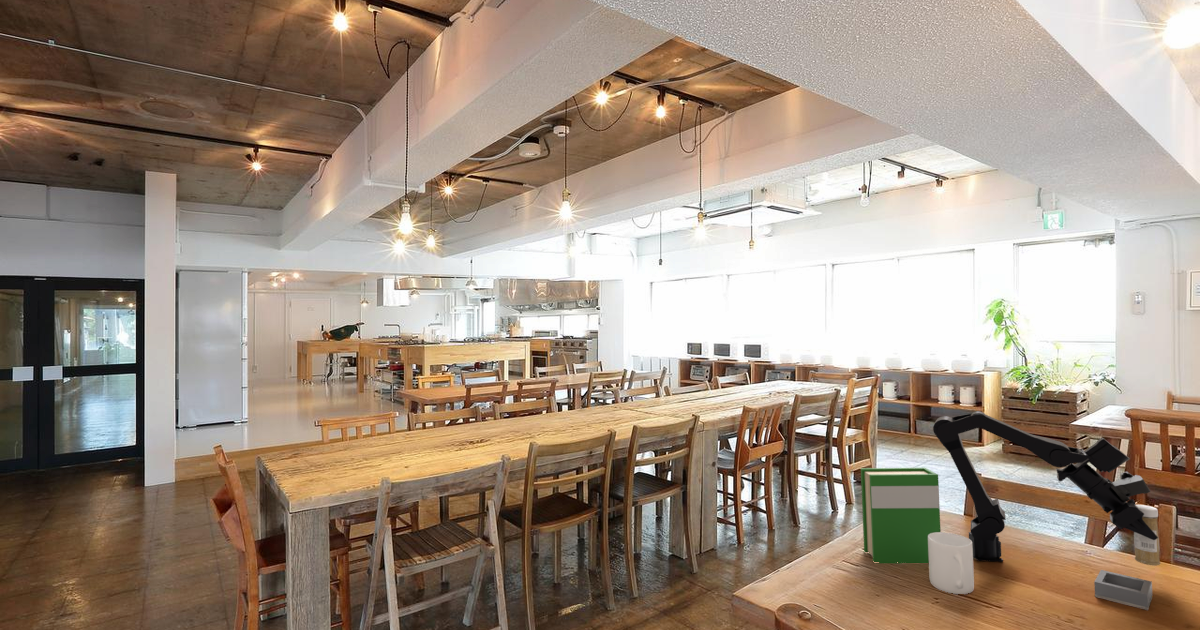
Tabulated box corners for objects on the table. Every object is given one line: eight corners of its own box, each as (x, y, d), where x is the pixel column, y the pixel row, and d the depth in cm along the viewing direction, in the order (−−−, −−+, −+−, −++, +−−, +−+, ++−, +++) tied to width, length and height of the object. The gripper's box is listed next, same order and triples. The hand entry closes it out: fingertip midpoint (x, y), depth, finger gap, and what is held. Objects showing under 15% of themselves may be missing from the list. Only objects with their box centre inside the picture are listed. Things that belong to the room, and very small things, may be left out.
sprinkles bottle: (1162, 563, 138) (1160, 507, 138) (1157, 567, 135) (1154, 510, 136) (1137, 557, 142) (1135, 502, 142) (1131, 561, 139) (1129, 506, 140)
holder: (1147, 610, 127) (1147, 594, 127) (1094, 596, 134) (1094, 581, 134) (1152, 596, 133) (1151, 581, 133) (1101, 584, 140) (1100, 569, 140)
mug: (957, 576, 146) (955, 531, 146) (991, 599, 134) (989, 549, 134) (921, 579, 146) (919, 533, 146) (952, 601, 134) (950, 551, 134)
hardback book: (874, 563, 156) (870, 475, 156) (864, 552, 163) (860, 468, 163) (941, 563, 154) (938, 474, 154) (928, 552, 161) (925, 467, 162)
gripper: (1130, 473, 133) (1198, 528, 127) (1114, 455, 149) (1174, 505, 143) (1087, 501, 138) (1151, 556, 131) (1076, 481, 153) (1133, 530, 147)
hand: (1153, 535), depth 138 cm, fingers closed on sprinkles bottle, 4 cm apart
